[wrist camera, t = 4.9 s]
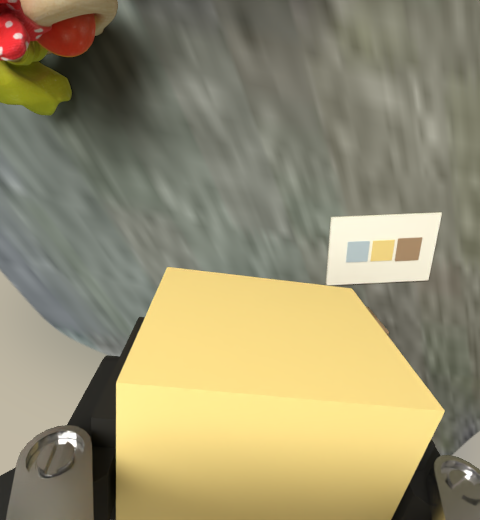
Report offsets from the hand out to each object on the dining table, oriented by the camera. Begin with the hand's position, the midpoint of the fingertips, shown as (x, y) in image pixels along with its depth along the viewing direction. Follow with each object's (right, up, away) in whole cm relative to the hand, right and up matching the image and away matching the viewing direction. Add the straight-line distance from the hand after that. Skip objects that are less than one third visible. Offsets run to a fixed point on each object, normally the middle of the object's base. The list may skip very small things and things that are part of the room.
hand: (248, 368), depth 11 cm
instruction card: (+12, +4, +17) cm, 21 cm away
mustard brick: (0, 0, +1) cm, 1 cm away
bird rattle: (-12, +18, +10) cm, 23 cm away
